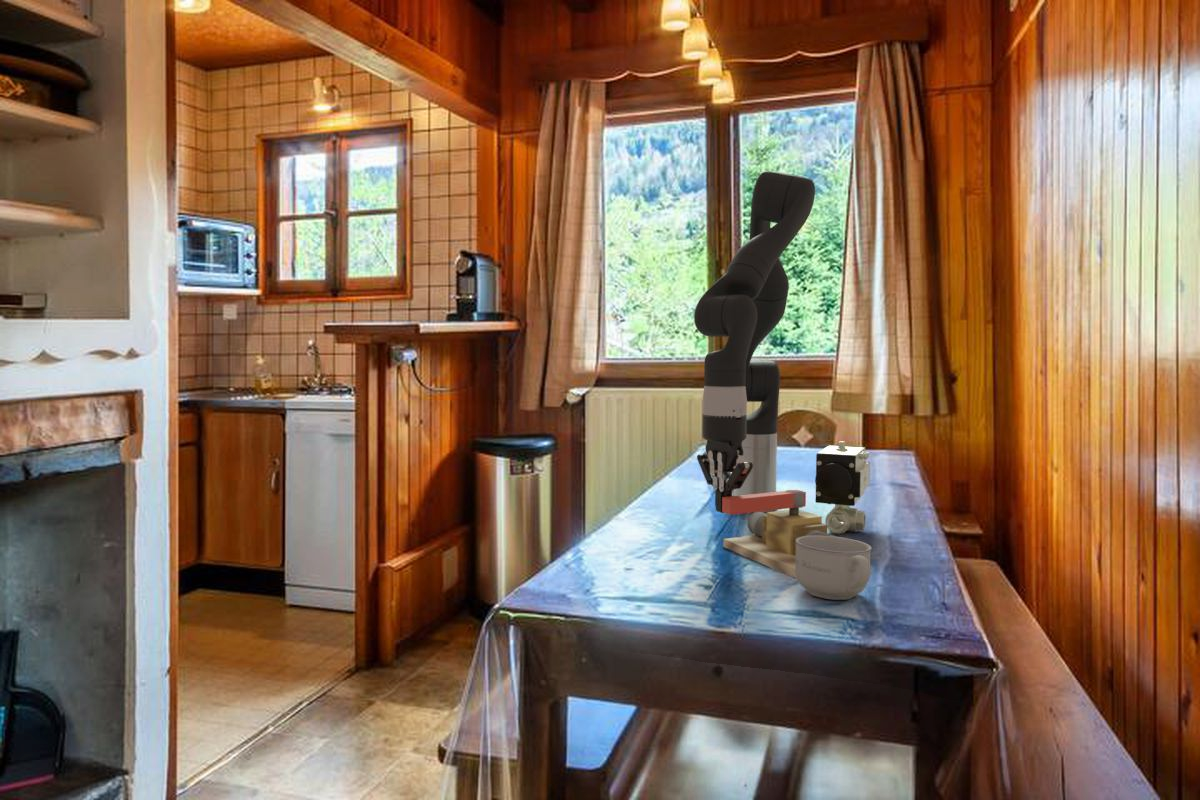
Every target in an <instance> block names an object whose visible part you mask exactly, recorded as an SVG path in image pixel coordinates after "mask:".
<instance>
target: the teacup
mask: <svg viewBox="0 0 1200 800" xmlns="http://www.w3.org/2000/svg"><path fill="white" fill-rule="evenodd" d="M834 536H835V535H833V536H819V535H814V536H802V537H799V538H797V539H796V559H795V571H796V577H797V582H798V583H799V584H800V585H801V586H802V587H803V588H804V589H805V590H806V592H807V593H809V595H811V596H815V597H817V598H821V599H826V600H832V601H833V600H834V601H841V600H842V601H846V600H850V599H853V598H854V597H856V595H859V594H860V593H861V592H863V591H864V589H866V587H867V585H868V583H869V581H870V579H871V574H872V572H871V552H872V551H873V550H872V546H871V545H870V544H868V543H867V542H866V543H865V542H864V541H861V540H856V539H852V538H848V537H841V536H836V537H834Z"/></svg>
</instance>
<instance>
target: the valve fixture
mask: <svg viewBox="0 0 1200 800" xmlns="http://www.w3.org/2000/svg"><path fill="white" fill-rule="evenodd" d="M822 518H823V517H822V516H821V515H818V514H815V513H812V512H809V511H805V510H802V509H800V508H788V509H782V510H777V511H776V510H774V511H769V512H752V514H751V515H750V516H749V518H748V522H747V528H748V530H749V532H750V533H751V535H743V536H738V537H737V536H736V537H735V536H734V537H729V538H723V542H722V543H723V546H722V547H723V548H725V549H727V550H730V551H732V552H735V553H736V554H738V555H742V556H743V557H746V558H748V559H750V560H753V561H755V562H756V563H757V562H758V563H760V564H762V565H765V566H767V567H769V568H771V569H774V570H776V571H778V572H780V573H783V574H785V575H787V574H788V576H789V575H790V577H792V576H793V577H792V578H794V577H795V579H796V578H797V577H796V571H795V559H796V539H797V538H799V537H802V536H814V535H819V536H834V537H837V536H836V535H833V534H832V535H831V534H829V533H828V528H827V525H826V523H823V522H822Z"/></svg>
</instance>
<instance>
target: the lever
mask: <svg viewBox="0 0 1200 800" xmlns="http://www.w3.org/2000/svg"><path fill="white" fill-rule="evenodd" d="M806 497H807V493H806V491H803V490H799V489H787V490H781V491H779V490H778V491H776V492H769V493H759V494H749V495H740V496H730V497H722V512H724V513H723V514H727V515H730V516H731V515H741V514H749V513H754V512H760V511H769V510H774V511H776V510H777V511H779V510H788V509H789V508H799V509H800V508H801V509H802V508H804V507H806V505H807V504H806V502H807V500H806ZM769 512H770V511H769Z"/></svg>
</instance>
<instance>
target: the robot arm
mask: <svg viewBox="0 0 1200 800" xmlns="http://www.w3.org/2000/svg"><path fill="white" fill-rule="evenodd" d="M752 191H753V192H752V197H751V207H750V219H749V220H750V221H749V222H750V223H749V224H750V225H749V236H748V240H747V241H746V242H745V243H743V245H742V246H740V248H739V249H738V250H737V251H736V252H735V254H734V255H733V258H732V260H731V262H730V263H729V265H728V267H727V268H726V271H725V272H724V274H723V275H722V276H721V277H720V278H718V279H717V280H716V281H715V282H714V284H712V285H711V287H709V288H708V289H707V290H706V291H705V292H704V293H703V294H702V296H701V297H700V299H699V300H698V302H697V304H696V306H695V309H694V315H693V319H694V320H693V321H694V325H695V328H696V330H697V331H698V332H699V333H700V334H701V335H703V336H706V337H712V338H715V337H719V338H720V337H728V338H727V341H726V343H725V346H724V347H723V348H722V349H718V350H714V351H711V352H708V353H707V354H705V357H704V363H703V364H704V368H703V369H704V370H703V371H704V375H703V376H704V379H703V380H704V382H703V383H704V384H703V385H704V386H703V394H702V410H701V411H702V417H701V421H702V423H701V425H702V429H701V430H702V431H701V432H702V434H701V437H702V439H703V440H704V441H706V445H705V450H704V452H703V453H702V454H697V456H696V460H697V462H698V465H699V467H700V469H701V472H702V475H703V476H704V479H705V481H706V484H708V485H709V486H710V485H711V486H712V489H713V490H714V491H715V492H714V494H715V495H714V498H715V499H714V500H715V501H714V506H715V511H716V512H718V513H721V514H725V513H724V512H722V497H730V496H740V495H749V494H759V493H769V492H777V467H778V466H777V465H778V464H777V463H778V462H777V460H778V459H777V457H778V454H777V453H778V419H779V400H780V399H779V398H780V390H781V389H780V388H781V387H780V385H781V372H780V368H779V364H778V363H777V362H776V361H774V360H771V359H770V360H769V359H768V360H765V359H763V360H762V359H760V360H759V359H758V360H756V359H754V360H753V359H752V358H753V355H754V353H755V351H756V350H757V348H758V347H759V345H760V344H761V343H762V342H763V340H765V338H766V337H767V336H768V335H769V334H770V333H771V332H772V331H773V330H774V329H775V328H776V326H778V324H779V323H780V322H781V320H782V318H783V317H784V314H785V312H786V306H787V301H788V294H789V289H790V288H789V287H790V285H789V284H790V283H789V282H790V281H789V279H788V276H787V273H786V270H785V268H784V266H783V263H782V261H781V260H780V257H781V255H783V253H784V251H785V250H786V249H787V248H788V246H790V244H791V243H792V242H793V240H794V238H795V237H796V236H797V234H798V233H799V232H800V231H801V229H802V228H803V226H804V225H805V223H806V222H807V220H808V219H809V217H810V214H811V212H812V209H813V205H814V201H815V197H816V187H815V183H814V181H813V180H812V179H811V178H808V177H805V176H800V175H796V174H789V173H785V172H778V171H773V170H765V171H762V172H761V173H760V174H759V175H758V176H757V179H756V181H755V184H754V188H753V190H752ZM771 223H775V224H774V225H773V226H772V227H771ZM748 402H749V403H753V402H754V403H755V402H757V403H760V406H759V407H758V408H757V409H756V410H755V411H752V412H751V413H749V414H748V411H747V410H748V409H747V408H748V405H747V404H748ZM774 511H775V510H769V511H760V512H763V513H767V512H774Z"/></svg>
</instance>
